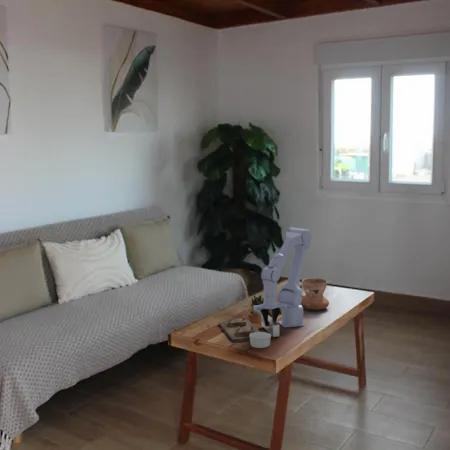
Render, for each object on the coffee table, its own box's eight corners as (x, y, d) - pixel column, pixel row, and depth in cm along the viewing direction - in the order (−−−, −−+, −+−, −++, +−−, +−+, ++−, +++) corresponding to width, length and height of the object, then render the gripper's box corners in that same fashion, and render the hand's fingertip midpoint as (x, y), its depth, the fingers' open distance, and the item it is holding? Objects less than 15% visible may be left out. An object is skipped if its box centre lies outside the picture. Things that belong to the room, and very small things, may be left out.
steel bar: (261, 325, 272) (261, 314, 271) (267, 324, 273) (267, 314, 272) (273, 336, 257) (273, 325, 256) (279, 336, 257) (279, 325, 256)
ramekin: (244, 345, 249) (244, 335, 248) (259, 340, 255) (259, 330, 255) (260, 350, 243) (260, 340, 242) (275, 345, 249) (275, 335, 248)
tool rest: (248, 322, 279) (248, 312, 278) (264, 339, 256) (264, 328, 255) (218, 324, 275) (218, 315, 275) (232, 342, 252) (232, 331, 252)
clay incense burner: (319, 315, 289) (320, 286, 287) (292, 310, 297) (293, 282, 295) (335, 306, 304) (336, 278, 301) (309, 302, 312) (310, 275, 310)
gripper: (257, 298, 256) (256, 329, 259) (289, 296, 260) (289, 326, 262) (252, 294, 263) (252, 324, 265) (283, 292, 267) (283, 321, 269)
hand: (270, 325), depth 264 cm, fingers closed on steel bar, 3 cm apart
